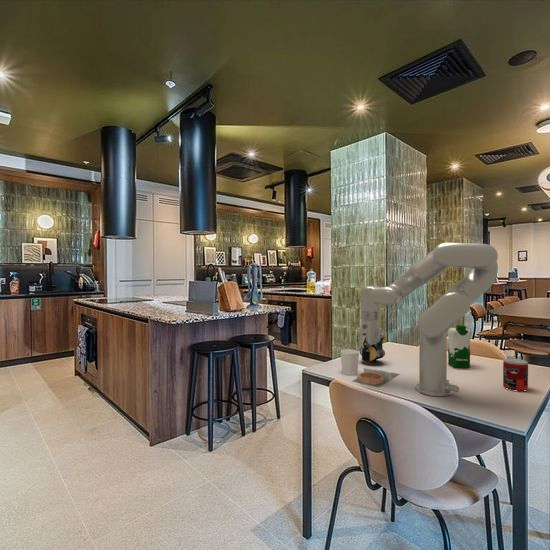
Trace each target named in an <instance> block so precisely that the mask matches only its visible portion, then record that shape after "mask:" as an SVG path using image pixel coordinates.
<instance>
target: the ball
mask: <svg viewBox="0 0 550 550" xmlns="http://www.w3.org/2000/svg"><path fill="white" fill-rule="evenodd" d="M366 347H367V346H366ZM369 351H370V361H372V360H374V359H375V358H376V356H377V352H376V350H375V348H374V347H372V346H370V348H369Z"/></svg>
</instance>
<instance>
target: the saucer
mask: <svg viewBox="0 0 550 550" xmlns="http://www.w3.org/2000/svg"><path fill="white" fill-rule="evenodd" d="M356 379H358V381H359V382H360V383H359V384H362V383H363V384H362V385H366V384H367V386H370V385H380V384H382V383H383V381H384V376H382V375H381V374H378V373H373V372H364V371H363V372H360V373H357V374H356Z"/></svg>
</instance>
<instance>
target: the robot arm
mask: <svg viewBox="0 0 550 550" xmlns="http://www.w3.org/2000/svg"><path fill="white" fill-rule="evenodd" d="M498 257H499V254H498V251H497V249H496V248H495V247H494V246H492V245H491V244H487V243H472V242H471V243H468V242H467V243H466V242H452V241H450V242H449V241H446V242H445V241H444V242H441V243H439V244H437V245H436V246H435V248H434V249H433V250H432V251H431V252H429V253H427V254H426V255H425V256H423V257H422V258H420V260H418V261H416V262H415V263H414V264H413V265H411V266H410V267H409V268H408V270H407V271H406V272H405V273H404V274H403V275H402V276H400V277H399V278H398V279H396V280H395V281H394V282H392V283H390V284H389V285H388V286H376V285H364V286H362V287H361V293H360V320H361V323H360V332H359V333H360V334H359V335H360V336H359V338H360V339H359V342H360V343H359V345H360V349H361V348H362V355H361V360H362V361H370V351H369V348H370V346H372V347H374V348H375V350H376V352H377V349H376V348H377V343H378V342H380V328H381V324H380V323H381V322H380V319H381V317H380V316H381V315H380V314H381V305H384V306H393V305H395V304H397V303H398V302H400V301H401V300H403V299H404V298H405V297H407V296H408V295H409V294H411V293H412V292H415V290H416V289H418V288H421V287H423V286H424V285H426V284H427V283H428V282H430V281H432V280H433V279H435V278H436V277H437V276H439V275H440V274H442V273H443V272H444V271H446V270H447V269H448V268H450V267H455V268H456V267H457V268H467V269H469V268H470V269H469V271H468V273H466V274H465V276H463V277H462V278H461V279H460V280H459V281H458V282H457V283H456V284H455V285H454V286H453V287H451V288H450V289H448V290H447V291H445V292H444V293H443V295H442V296H441V297H439V298H438V299H437V300H436V301H435V302H434V303H433V304H432V305H431V306H430V307H428V309H426V310H423V312H421V313H420V315H419V317H418V319H417V322H416V323H417V329H418V330H419V352H418V353H419V354H418V355H419V356H418V357H419V360H418V361H419V364H418V365H419V366H418V367H419V368H418V369H419V370H418V371H419V373H418V374H419V375H418V376H419V381H418V383H416V384H415V385H414V389H415V391H416V392H419V393H420V394H423V395H426V396H430V397H438V398H439V397H440V398H441V397H448V396H451V394H452V392H454V393H459V392H460V387H458V385H457V384H451V383H450V380H449V379H447V375H448V374H447V373H448V372H447V369H448V367H447V366H448V365H447V363H448V329H449V328H453V326H455V325H456V323H458V322H459V321H460V320H461V319H462V318H464V317H465V315H467V313H468V312H469V311H470V309H471V306H472V304H473V303H474V302H476V301H477V300H478V299H479V298H480V297H481V296H483V295H484V293H486V292H487V290H489V289H490V288H491V286H493V284H494V282H495V281H496V278H497V276H498V271H499V266H498ZM366 342H368V344H367V343H366ZM365 345H367V347H366V346H365ZM376 358H377V356H376Z"/></svg>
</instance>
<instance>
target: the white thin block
mask: <svg viewBox="0 0 550 550" xmlns="http://www.w3.org/2000/svg"><path fill="white" fill-rule="evenodd" d="M380 370H381V369H376V370H375V368H374V369H373V368H368V367H363V372H373V373H378V374H381V375H382V376H384V379H386V380H390V381H392V380H391V373H390V371H387V372H385V371H386V370H381V371H380Z"/></svg>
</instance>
